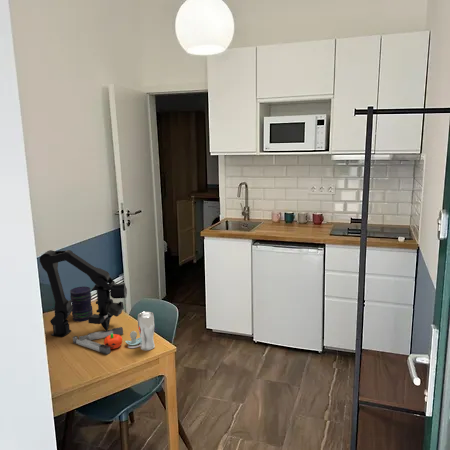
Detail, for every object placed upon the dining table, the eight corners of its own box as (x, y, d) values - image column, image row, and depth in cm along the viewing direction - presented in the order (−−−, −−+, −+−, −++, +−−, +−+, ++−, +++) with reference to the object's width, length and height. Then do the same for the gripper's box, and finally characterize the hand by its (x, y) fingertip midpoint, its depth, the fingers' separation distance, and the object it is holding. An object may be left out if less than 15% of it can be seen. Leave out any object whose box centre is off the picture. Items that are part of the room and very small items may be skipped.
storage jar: (88, 312, 217) (85, 285, 214) (96, 317, 210) (94, 289, 207) (69, 317, 210) (66, 289, 207) (77, 323, 203) (74, 294, 200)
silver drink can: (152, 351, 174) (150, 318, 171) (136, 350, 175) (134, 317, 173) (158, 344, 181) (156, 311, 178) (143, 342, 182) (141, 310, 179)
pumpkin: (125, 348, 179) (125, 335, 177) (107, 353, 175) (106, 340, 173) (119, 340, 185) (118, 327, 183) (101, 345, 180) (100, 332, 178)
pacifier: (144, 346, 179) (141, 340, 184) (144, 333, 178) (140, 327, 183) (127, 350, 176) (124, 344, 181) (127, 337, 175) (123, 331, 180)
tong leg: (79, 342, 183) (79, 336, 183) (79, 340, 185) (78, 334, 185) (123, 334, 191) (122, 328, 190) (122, 332, 192) (122, 326, 192)
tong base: (72, 342, 183) (71, 336, 183) (75, 341, 185) (75, 335, 184) (106, 355, 172) (106, 348, 172) (110, 352, 174) (110, 346, 173)
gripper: (108, 307, 179) (111, 341, 182) (129, 292, 197) (131, 323, 200) (86, 305, 182) (89, 338, 185) (108, 290, 200) (111, 321, 203)
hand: (106, 330), depth 193 cm, fingers closed
